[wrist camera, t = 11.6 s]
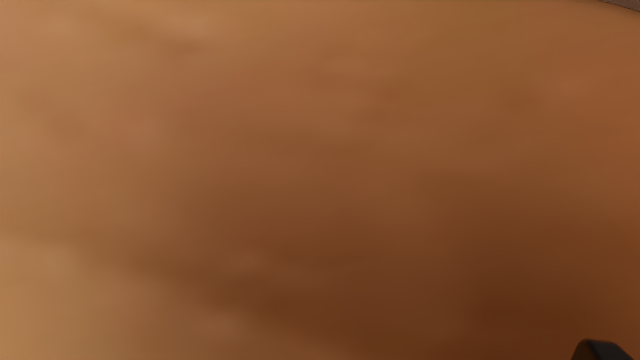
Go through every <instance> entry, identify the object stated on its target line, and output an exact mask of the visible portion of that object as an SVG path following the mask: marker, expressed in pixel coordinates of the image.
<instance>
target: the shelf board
mask: <svg viewBox="0 0 640 360" xmlns="http://www.w3.org/2000/svg"><path fill="white" fill-rule="evenodd" d="M601 1H605V2H608V3H612V4H615V5H619V6H622V7H626V8H629V9H633V10H636V11H640V0H601Z"/></svg>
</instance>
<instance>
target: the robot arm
mask: <svg viewBox="0 0 640 360" xmlns="http://www.w3.org/2000/svg"><path fill="white" fill-rule="evenodd" d="M571 360H634V359H633V358H632V357H630V356H629V355H628V354H627V353H626V352H625V351H624V350H623V349H622V348H621V347H619V346H618V345H617V344H615V343H614V342H610V341H604V340H596V339H583V340H581V341H580V342H579V343H578V345H577V347H576V349H575V351H574V354H573V356H572V358H571Z"/></svg>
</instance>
